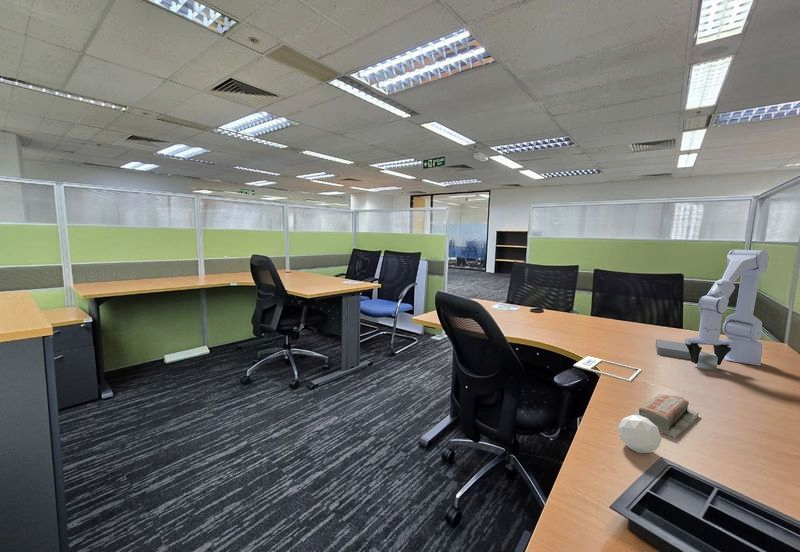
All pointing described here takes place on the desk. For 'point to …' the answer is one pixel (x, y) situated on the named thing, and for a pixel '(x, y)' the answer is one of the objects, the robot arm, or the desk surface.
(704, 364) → the grey-green cube
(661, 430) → the packaged product
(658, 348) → the pedestal
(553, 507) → the desk surface
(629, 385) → the desk surface
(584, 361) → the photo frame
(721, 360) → the robot arm
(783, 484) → the desk surface
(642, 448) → the geometric ball
